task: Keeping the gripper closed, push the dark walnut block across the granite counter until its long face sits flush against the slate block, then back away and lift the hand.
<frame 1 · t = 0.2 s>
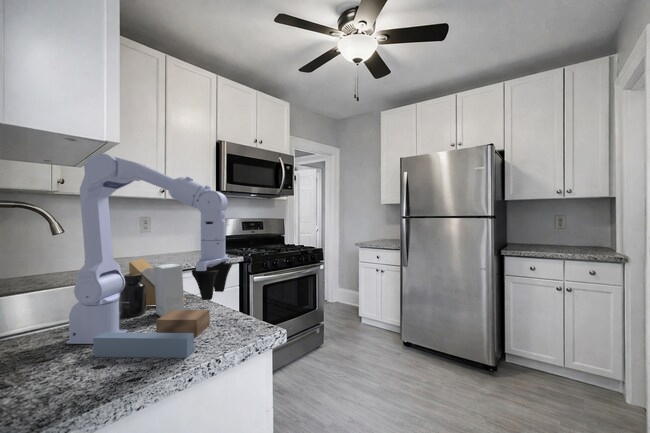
hand: (213, 295, 76), 10 cm above the counter, tool pointing down, fingers open, 7 cm apart
walnut block: (184, 331, 80), on the counter
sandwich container: (159, 304, 105), on the counter
supplement bottle: (133, 314, 94), on the counter
skincare box: (169, 315, 93), on the counter
slate block: (144, 354, 66), on the counter
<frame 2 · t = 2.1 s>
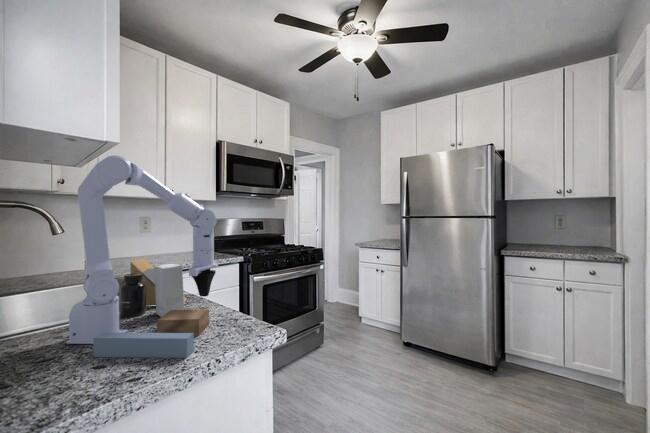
hand: (204, 295, 92), 6 cm above the counter, tool pointing down, fingers closed
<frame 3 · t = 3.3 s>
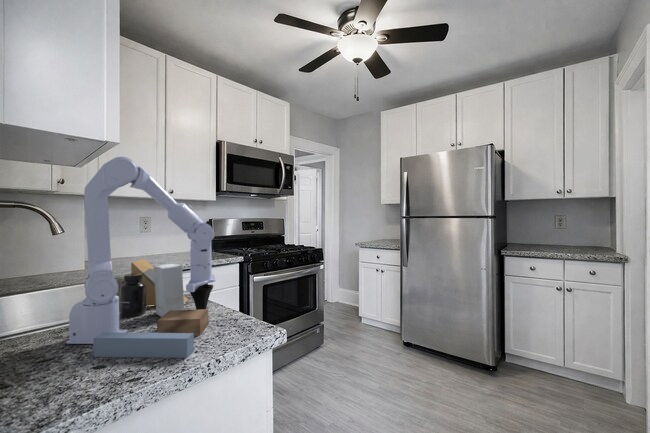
hand: (201, 311, 90), 2 cm above the counter, tool pointing down, fingers closed
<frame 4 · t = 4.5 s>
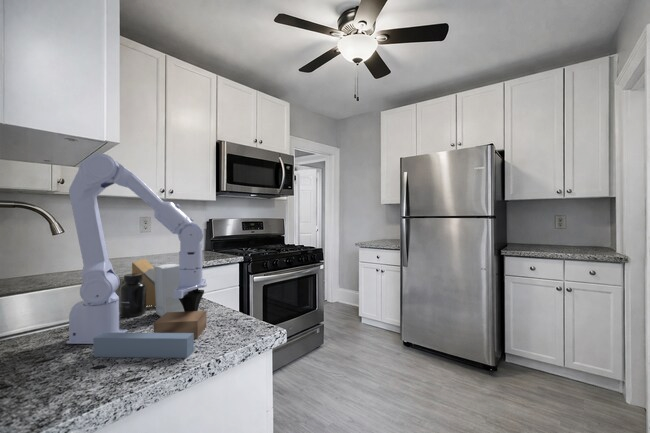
hand: (191, 318, 84), 2 cm above the counter, tool pointing down, fingers closed
walnut block: (181, 334, 78), on the counter
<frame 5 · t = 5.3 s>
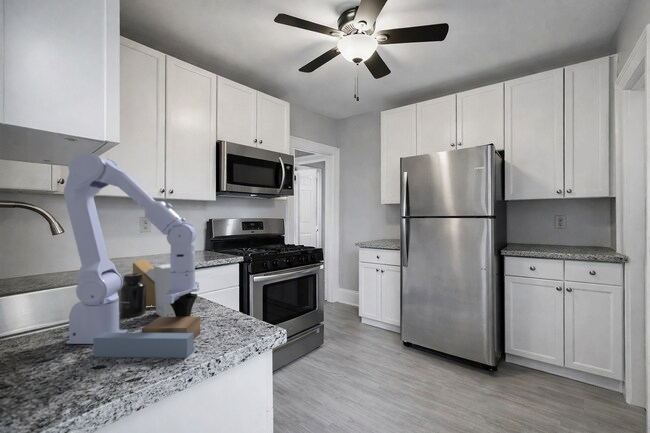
hand: (183, 324, 79), 2 cm above the counter, tool pointing down, fingers closed
walnut block: (172, 340, 74), on the counter, touching gripper
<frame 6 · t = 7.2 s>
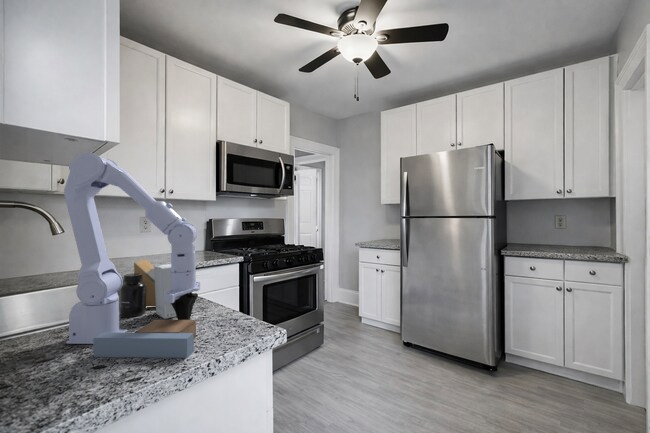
hand: (184, 323, 80), 2 cm above the counter, tool pointing down, fingers closed
walnut block: (166, 344, 72), on the counter
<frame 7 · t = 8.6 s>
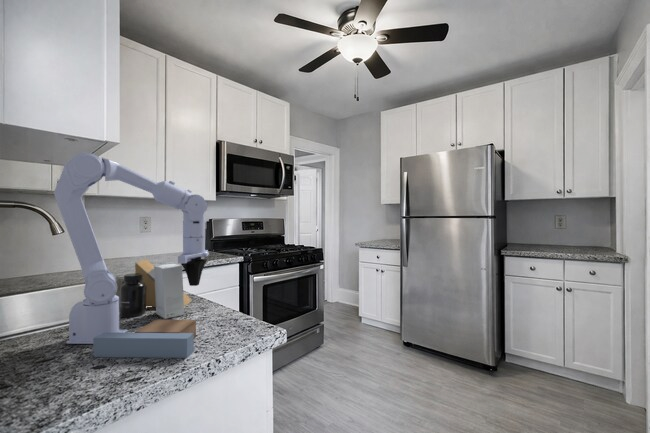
hand: (194, 285, 88), 10 cm above the counter, tool pointing down, fingers closed
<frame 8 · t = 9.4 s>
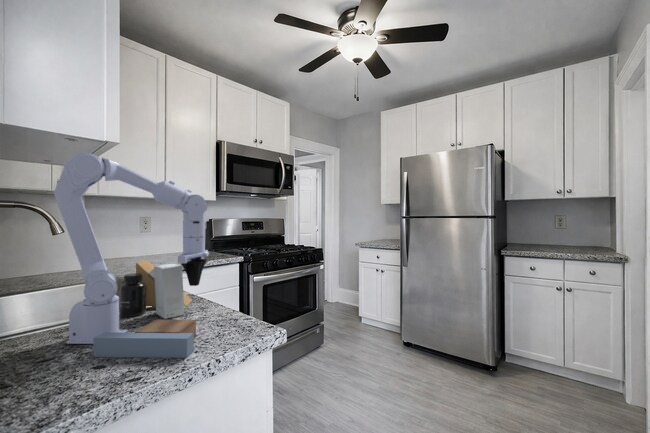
hand: (194, 285, 88), 10 cm above the counter, tool pointing down, fingers closed
at the end: walnut block inside the target area on the counter beside the slate block (1.8 cm from its centre), on the counter; walnut block tilted 0°; walnut block moved 7.9 cm from its start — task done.
